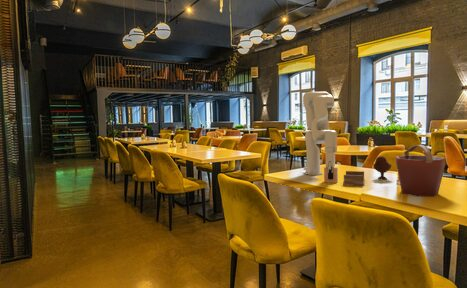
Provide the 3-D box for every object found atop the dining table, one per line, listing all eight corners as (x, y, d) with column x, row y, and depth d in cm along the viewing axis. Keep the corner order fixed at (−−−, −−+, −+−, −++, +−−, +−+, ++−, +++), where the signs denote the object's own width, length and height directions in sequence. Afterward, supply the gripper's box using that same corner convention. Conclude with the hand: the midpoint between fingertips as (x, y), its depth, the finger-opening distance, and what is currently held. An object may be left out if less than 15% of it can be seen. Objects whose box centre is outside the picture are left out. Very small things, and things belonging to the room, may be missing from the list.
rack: (345, 179, 211) (345, 170, 210) (364, 180, 206) (364, 171, 206) (342, 184, 195) (342, 175, 195) (364, 185, 190) (364, 175, 190)
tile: (324, 181, 209) (324, 167, 208) (337, 181, 206) (337, 167, 205) (324, 181, 206) (324, 167, 206) (337, 182, 203) (337, 168, 203)
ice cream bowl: (392, 180, 204) (393, 156, 203) (373, 180, 208) (373, 156, 207) (390, 177, 214) (390, 155, 213) (372, 177, 218) (372, 155, 217)
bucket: (394, 187, 184) (394, 143, 182) (439, 189, 176) (440, 143, 174) (399, 196, 161) (399, 147, 160) (451, 199, 153) (451, 147, 152)
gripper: (326, 148, 214) (326, 176, 215) (322, 151, 199) (323, 180, 200) (338, 148, 211) (338, 176, 212) (335, 151, 196) (335, 181, 197)
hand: (331, 178), depth 206 cm, fingers closed on tile, 3 cm apart
